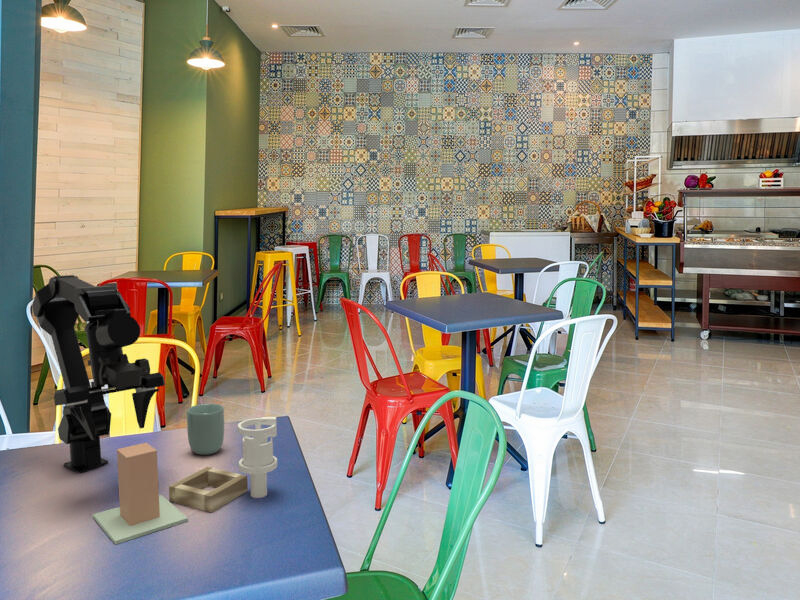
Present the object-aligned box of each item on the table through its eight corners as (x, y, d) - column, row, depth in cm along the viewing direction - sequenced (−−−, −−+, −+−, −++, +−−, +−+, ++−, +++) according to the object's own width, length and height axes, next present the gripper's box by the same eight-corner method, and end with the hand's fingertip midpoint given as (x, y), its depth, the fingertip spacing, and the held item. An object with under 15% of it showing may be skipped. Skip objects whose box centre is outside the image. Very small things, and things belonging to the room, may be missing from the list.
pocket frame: (169, 501, 116) (168, 485, 116) (207, 481, 125) (207, 466, 125) (211, 512, 112) (210, 496, 112) (247, 490, 121) (247, 475, 121)
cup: (214, 459, 136) (212, 415, 135) (181, 456, 138) (179, 412, 137) (231, 447, 144) (229, 404, 143) (199, 444, 145) (198, 402, 144)
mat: (92, 517, 110) (92, 514, 110) (161, 497, 118) (161, 494, 118) (115, 544, 101) (115, 541, 101) (187, 521, 109) (187, 517, 109)
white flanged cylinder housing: (277, 501, 117) (275, 423, 115) (238, 504, 115) (236, 425, 113) (278, 485, 124) (276, 411, 122) (241, 487, 122) (239, 413, 120)
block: (120, 515, 109) (116, 449, 108) (149, 506, 113) (146, 442, 111) (130, 526, 106) (126, 457, 104) (159, 516, 109) (156, 450, 107)
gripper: (72, 353, 107) (86, 445, 106) (173, 340, 121) (185, 421, 120) (47, 360, 114) (59, 446, 113) (144, 347, 128) (156, 423, 127)
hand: (118, 433), depth 118 cm, fingers open, 9 cm apart
